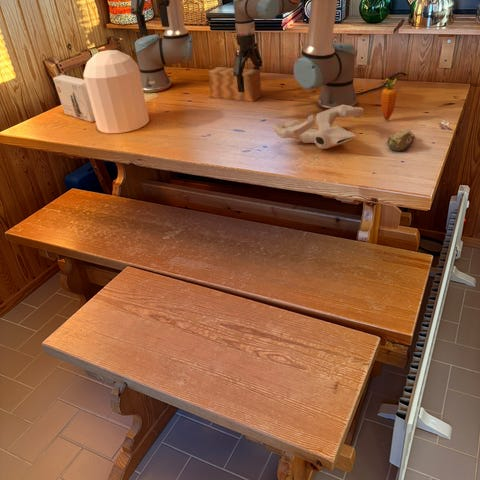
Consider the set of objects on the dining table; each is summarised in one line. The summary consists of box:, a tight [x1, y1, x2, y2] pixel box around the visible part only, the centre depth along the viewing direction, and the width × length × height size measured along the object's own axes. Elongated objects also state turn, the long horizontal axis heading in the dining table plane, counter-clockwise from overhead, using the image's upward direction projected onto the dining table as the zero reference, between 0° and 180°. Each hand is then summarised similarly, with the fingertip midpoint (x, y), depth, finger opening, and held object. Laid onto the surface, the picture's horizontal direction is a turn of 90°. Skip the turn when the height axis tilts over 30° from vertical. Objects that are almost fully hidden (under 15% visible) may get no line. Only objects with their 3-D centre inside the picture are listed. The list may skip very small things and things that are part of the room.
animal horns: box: [273, 105, 365, 150], centre depth 153 cm, size 28×26×12 cm
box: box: [207, 66, 262, 103], centre depth 200 cm, size 22×7×11 cm, turn 59°
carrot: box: [380, 78, 398, 122], centre depth 161 cm, size 5×5×15 cm
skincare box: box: [52, 74, 96, 123], centre depth 193 cm, size 21×6×16 cm, turn 49°
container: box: [82, 49, 150, 134], centre depth 178 cm, size 21×21×28 cm
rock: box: [387, 129, 416, 152], centre depth 146 cm, size 11×6×10 cm
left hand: (155, 30), depth 164 cm, fingers open, 13 cm apart
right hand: (249, 87), depth 197 cm, fingers open, 13 cm apart
